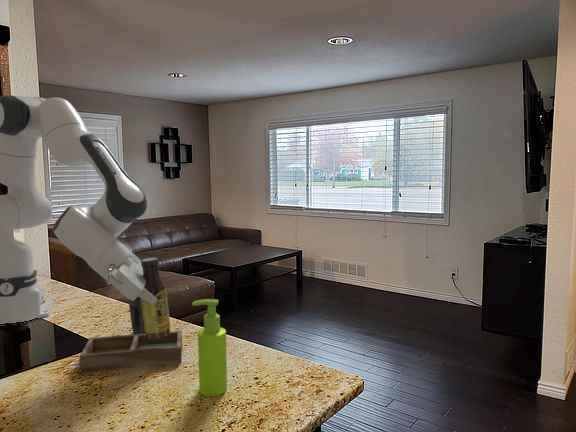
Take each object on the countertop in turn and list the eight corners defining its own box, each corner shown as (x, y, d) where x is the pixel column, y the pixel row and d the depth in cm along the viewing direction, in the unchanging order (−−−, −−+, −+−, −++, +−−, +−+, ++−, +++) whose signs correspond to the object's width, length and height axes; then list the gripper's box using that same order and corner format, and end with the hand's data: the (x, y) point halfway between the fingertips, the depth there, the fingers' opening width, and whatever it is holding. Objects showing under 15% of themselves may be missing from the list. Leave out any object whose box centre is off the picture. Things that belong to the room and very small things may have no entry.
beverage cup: (160, 330, 129) (157, 263, 127) (144, 340, 122) (141, 269, 120) (139, 327, 132) (136, 262, 129) (122, 336, 125) (119, 267, 122)
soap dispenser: (196, 383, 99) (194, 296, 96) (227, 382, 99) (226, 295, 97) (192, 397, 93) (190, 305, 90) (226, 396, 93) (224, 304, 91)
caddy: (90, 352, 114) (89, 337, 114) (182, 345, 119) (181, 330, 119) (80, 372, 104) (79, 356, 103) (181, 363, 109) (180, 347, 108)
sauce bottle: (164, 341, 108) (153, 262, 105) (141, 341, 110) (129, 263, 107) (176, 330, 115) (166, 255, 112) (154, 330, 116) (143, 256, 113)
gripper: (115, 260, 98) (163, 300, 101) (128, 244, 118) (167, 277, 121) (95, 281, 97) (143, 321, 101) (111, 261, 117) (151, 294, 120)
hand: (156, 297), depth 111 cm, fingers closed on sauce bottle, 6 cm apart
